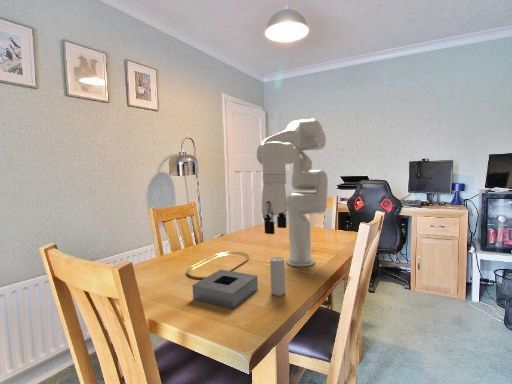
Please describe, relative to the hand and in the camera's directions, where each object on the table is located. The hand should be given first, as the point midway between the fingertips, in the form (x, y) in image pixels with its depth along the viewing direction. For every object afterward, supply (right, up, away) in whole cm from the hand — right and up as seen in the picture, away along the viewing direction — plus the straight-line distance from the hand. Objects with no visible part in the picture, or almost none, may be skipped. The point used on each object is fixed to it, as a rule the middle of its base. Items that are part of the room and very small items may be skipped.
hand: (276, 230), depth 97 cm
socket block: (-17, -22, +3) cm, 28 cm away
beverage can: (+1, -22, +2) cm, 22 cm away
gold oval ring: (-23, -21, +33) cm, 45 cm away
